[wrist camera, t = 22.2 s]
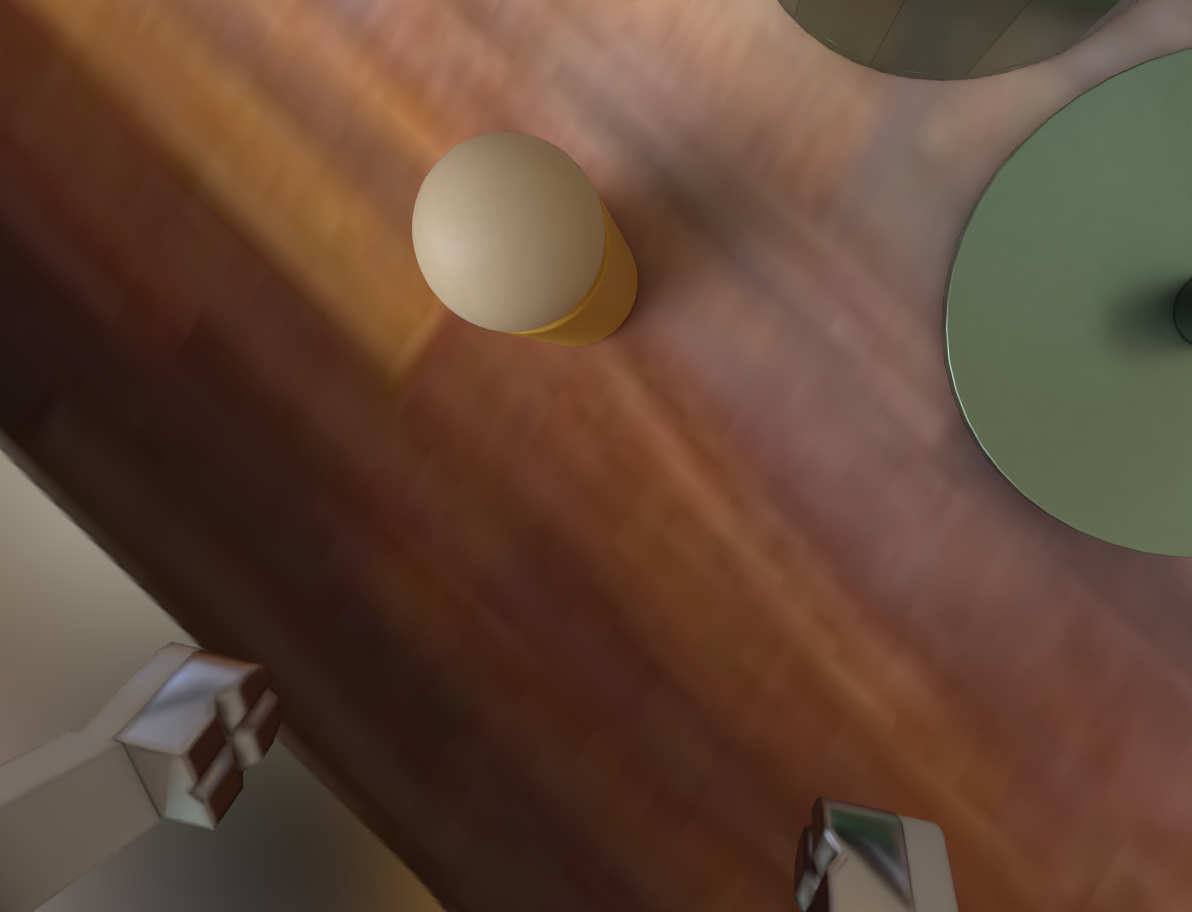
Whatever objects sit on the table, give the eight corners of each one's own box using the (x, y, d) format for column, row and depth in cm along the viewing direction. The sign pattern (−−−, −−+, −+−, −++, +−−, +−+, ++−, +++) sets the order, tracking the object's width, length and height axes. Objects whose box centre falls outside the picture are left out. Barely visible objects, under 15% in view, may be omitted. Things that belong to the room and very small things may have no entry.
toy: (489, 266, 26) (337, 189, 15) (591, 190, 25) (508, 51, 15) (558, 370, 26) (455, 367, 15) (662, 298, 25) (632, 241, 15)
